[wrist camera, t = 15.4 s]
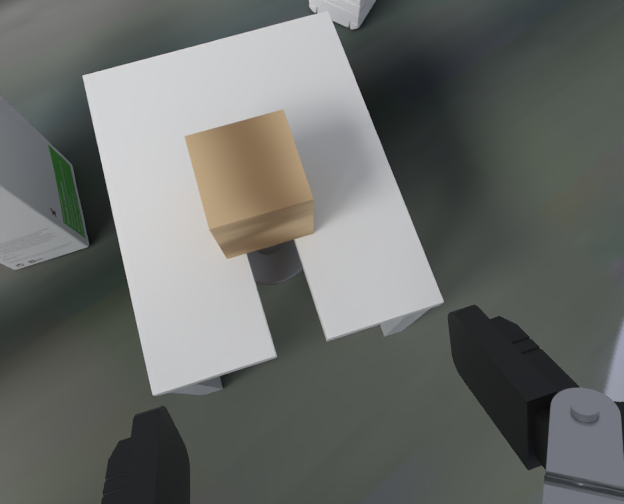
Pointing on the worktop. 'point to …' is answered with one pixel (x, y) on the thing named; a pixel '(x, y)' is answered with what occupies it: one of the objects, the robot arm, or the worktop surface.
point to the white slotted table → (191, 217)
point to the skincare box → (35, 196)
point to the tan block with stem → (254, 193)
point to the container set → (344, 10)
